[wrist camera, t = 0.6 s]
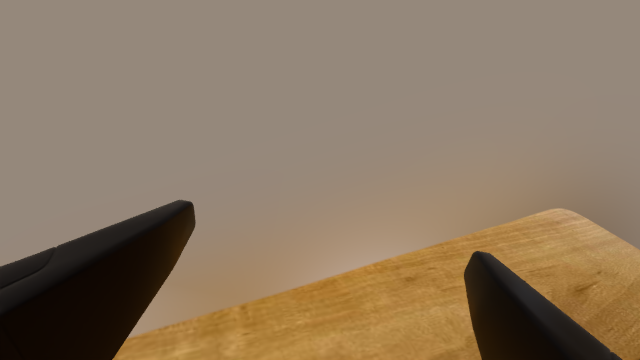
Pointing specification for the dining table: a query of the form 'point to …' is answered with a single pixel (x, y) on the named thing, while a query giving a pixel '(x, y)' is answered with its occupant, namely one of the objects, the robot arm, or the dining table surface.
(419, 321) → the dining table surface
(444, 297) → the dining table surface
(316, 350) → the dining table surface
